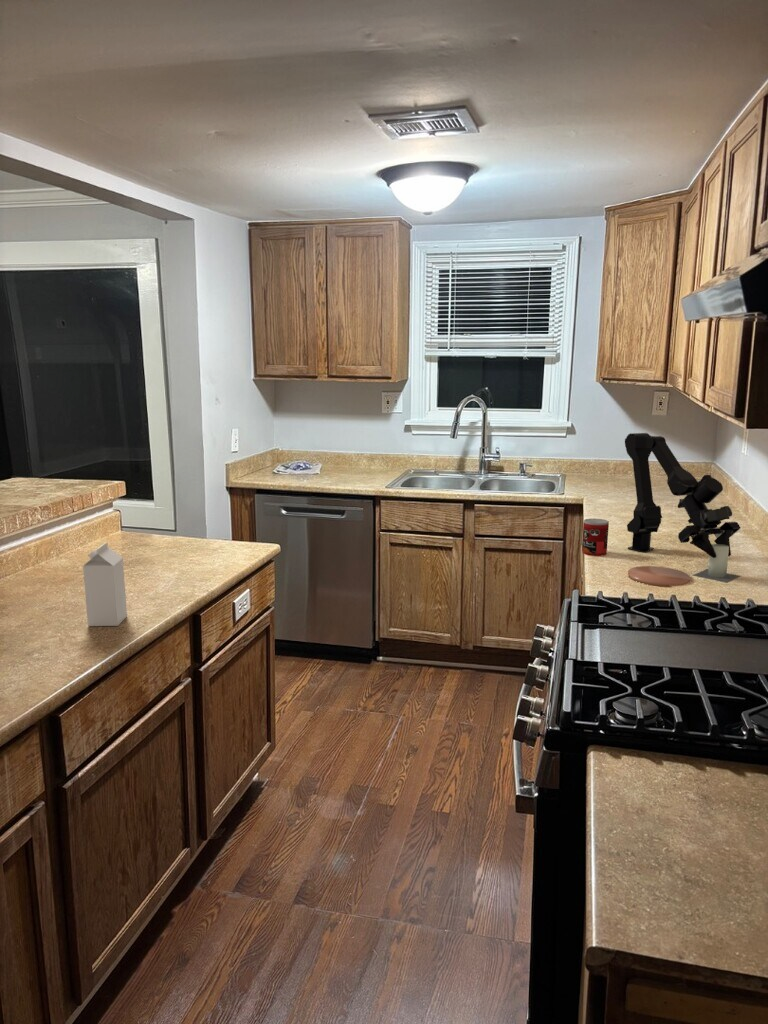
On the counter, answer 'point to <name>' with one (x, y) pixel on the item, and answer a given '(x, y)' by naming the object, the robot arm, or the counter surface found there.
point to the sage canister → (718, 561)
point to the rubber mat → (727, 579)
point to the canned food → (595, 537)
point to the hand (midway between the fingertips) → (722, 556)
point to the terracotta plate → (658, 576)
